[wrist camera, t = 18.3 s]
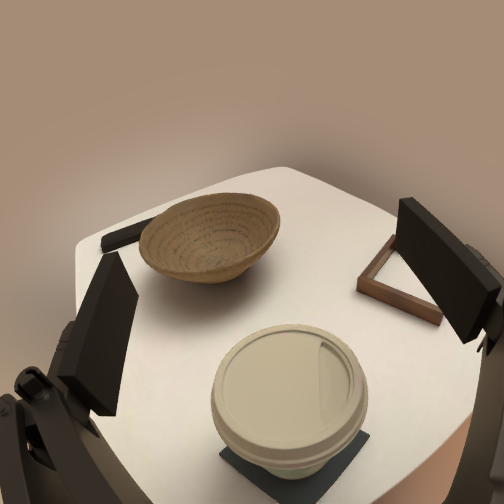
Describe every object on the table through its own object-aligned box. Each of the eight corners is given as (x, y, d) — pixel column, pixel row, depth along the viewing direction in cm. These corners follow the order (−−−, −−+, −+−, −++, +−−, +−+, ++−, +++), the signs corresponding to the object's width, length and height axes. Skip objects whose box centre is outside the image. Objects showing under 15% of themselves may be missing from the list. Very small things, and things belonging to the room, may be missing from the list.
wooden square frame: (460, 270, 34) (463, 259, 33) (439, 326, 28) (444, 314, 27) (391, 245, 41) (392, 233, 40) (356, 290, 35) (357, 278, 34)
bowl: (314, 274, 39) (312, 220, 34) (184, 344, 33) (160, 293, 28) (243, 222, 53) (235, 179, 48) (143, 266, 46) (126, 223, 42)
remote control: (172, 218, 59) (102, 241, 55) (170, 211, 58) (99, 234, 54) (177, 229, 55) (102, 253, 52) (174, 221, 54) (98, 245, 51)
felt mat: (369, 437, 21) (370, 435, 20) (301, 517, 16) (301, 517, 16) (288, 389, 26) (288, 386, 26) (219, 455, 22) (218, 453, 21)
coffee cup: (308, 512, 16) (313, 494, 9) (221, 459, 21) (169, 396, 14) (365, 430, 21) (398, 349, 14) (282, 389, 26) (268, 297, 19)
